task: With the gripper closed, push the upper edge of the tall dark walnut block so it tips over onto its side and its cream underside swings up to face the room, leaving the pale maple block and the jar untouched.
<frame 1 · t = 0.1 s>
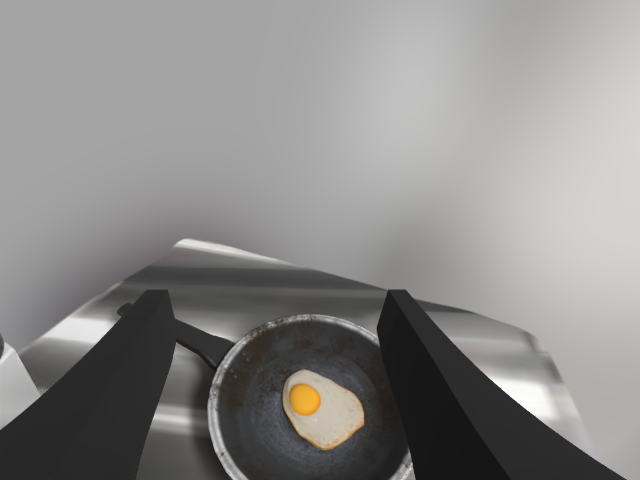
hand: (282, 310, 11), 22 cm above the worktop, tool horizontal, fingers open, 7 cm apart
frying pan: (253, 384, 33), on the worktop
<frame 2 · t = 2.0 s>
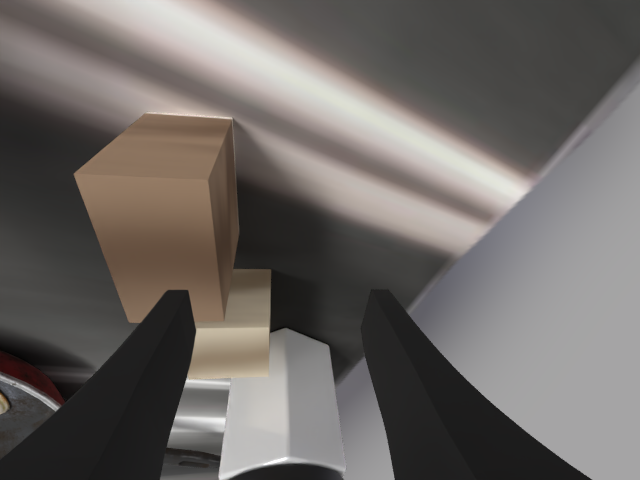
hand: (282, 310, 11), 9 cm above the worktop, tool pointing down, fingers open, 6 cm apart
frying pan: (56, 398, 29), on the worktop
walnut block: (199, 179, 18), on the worktop
maple block: (235, 294, 23), on the worktop
jar: (281, 357, 29), on the worktop
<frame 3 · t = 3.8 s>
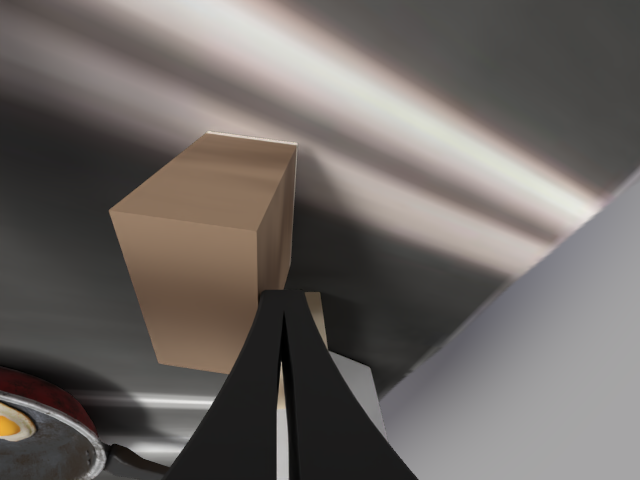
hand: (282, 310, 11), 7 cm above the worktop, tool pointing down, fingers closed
frying pan: (84, 420, 28), on the worktop
walnut block: (254, 205, 16), on the worktop, tilted 11°
maple block: (280, 317, 22), on the worktop
jar: (319, 379, 27), on the worktop
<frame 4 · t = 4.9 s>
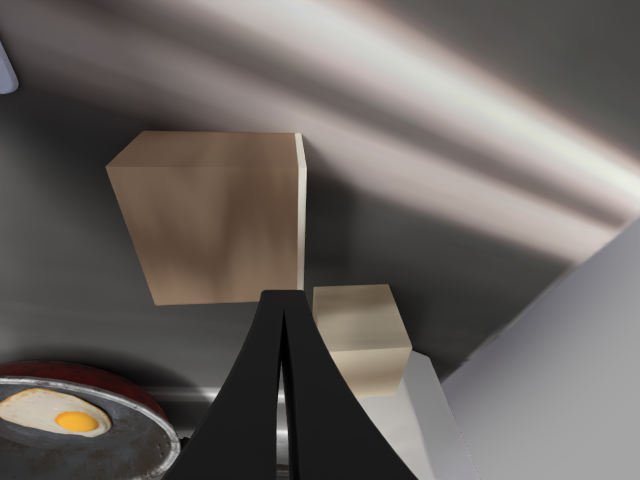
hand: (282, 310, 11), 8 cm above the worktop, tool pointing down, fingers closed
frying pan: (153, 416, 29), on the worktop
walnut block: (302, 218, 16), point 2 cm above the worktop, tilted 90°
maple block: (347, 310, 23), on the worktop
jar: (377, 370, 28), on the worktop
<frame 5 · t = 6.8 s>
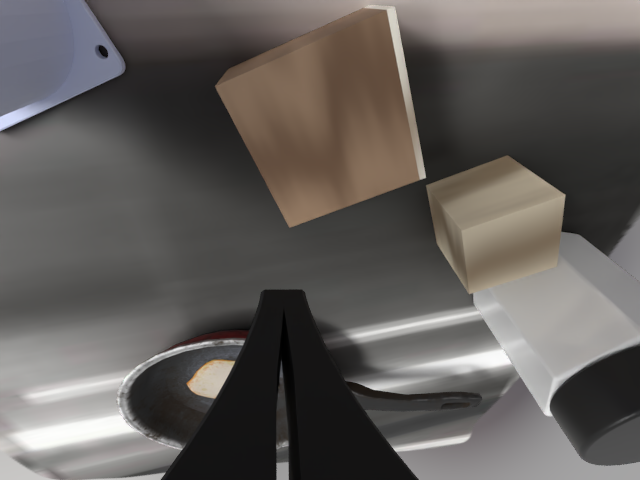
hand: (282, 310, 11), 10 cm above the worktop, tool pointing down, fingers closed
frying pan: (310, 371, 31), on the worktop
walnut block: (398, 93, 15), point 2 cm above the worktop, tilted 90°
maple block: (468, 202, 21), on the worktop
jar: (519, 267, 26), on the worktop
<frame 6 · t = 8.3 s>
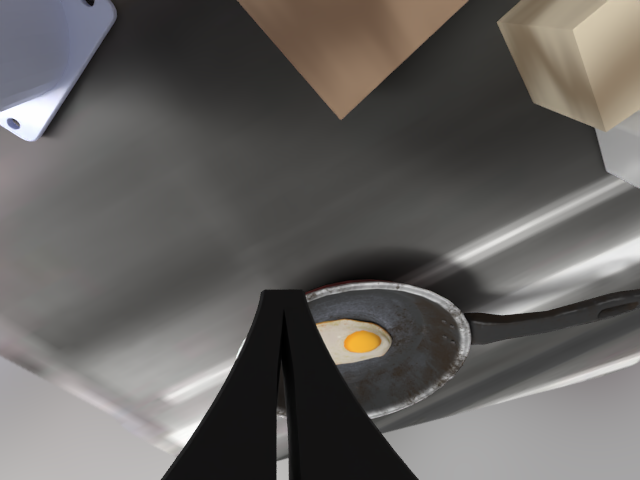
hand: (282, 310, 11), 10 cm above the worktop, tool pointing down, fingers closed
frying pan: (421, 314, 28), on the worktop
maple block: (564, 25, 16), on the worktop
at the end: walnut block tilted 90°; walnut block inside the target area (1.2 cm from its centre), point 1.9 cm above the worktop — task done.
